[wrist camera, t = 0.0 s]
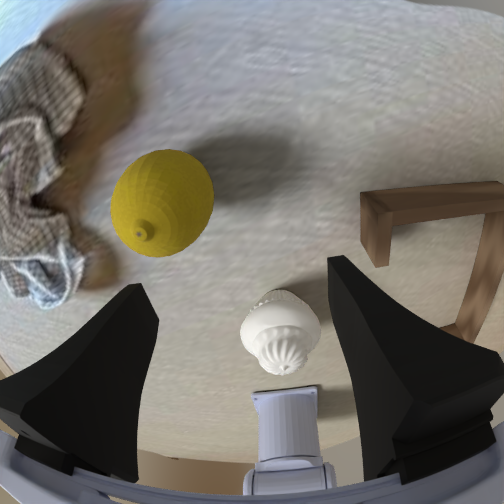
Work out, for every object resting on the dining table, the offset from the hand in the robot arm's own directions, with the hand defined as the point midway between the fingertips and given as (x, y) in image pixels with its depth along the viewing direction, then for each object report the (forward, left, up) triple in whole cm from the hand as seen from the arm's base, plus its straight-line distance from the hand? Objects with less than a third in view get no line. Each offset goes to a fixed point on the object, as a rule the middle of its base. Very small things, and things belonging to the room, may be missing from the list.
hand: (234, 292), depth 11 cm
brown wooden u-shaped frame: (-10, -15, -10) cm, 21 cm away
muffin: (-10, -1, -10) cm, 14 cm away
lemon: (+2, +4, -10) cm, 11 cm away
